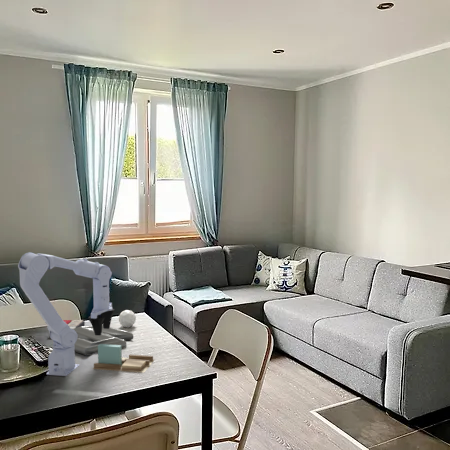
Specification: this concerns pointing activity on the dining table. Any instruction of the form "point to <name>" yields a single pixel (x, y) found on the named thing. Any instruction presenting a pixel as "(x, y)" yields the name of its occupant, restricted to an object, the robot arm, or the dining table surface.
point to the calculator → (74, 323)
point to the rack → (118, 366)
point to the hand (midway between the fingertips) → (102, 331)
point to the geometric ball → (127, 318)
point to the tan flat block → (133, 368)
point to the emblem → (99, 339)
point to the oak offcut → (133, 364)
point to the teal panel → (110, 354)
